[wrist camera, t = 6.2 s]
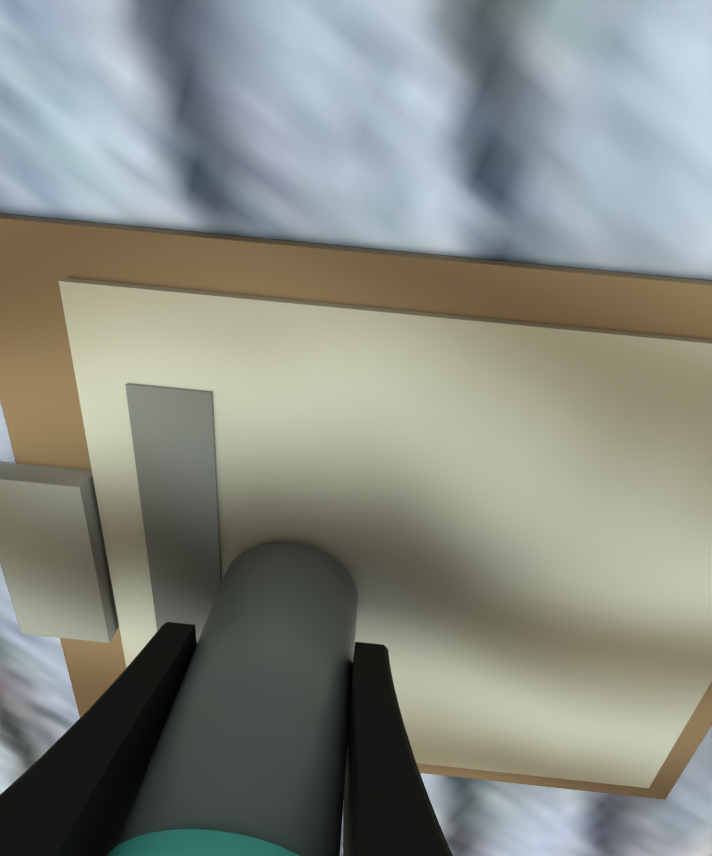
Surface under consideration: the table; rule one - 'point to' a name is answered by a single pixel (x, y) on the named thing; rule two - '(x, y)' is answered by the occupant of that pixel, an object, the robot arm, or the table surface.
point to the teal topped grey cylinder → (257, 718)
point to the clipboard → (377, 476)
